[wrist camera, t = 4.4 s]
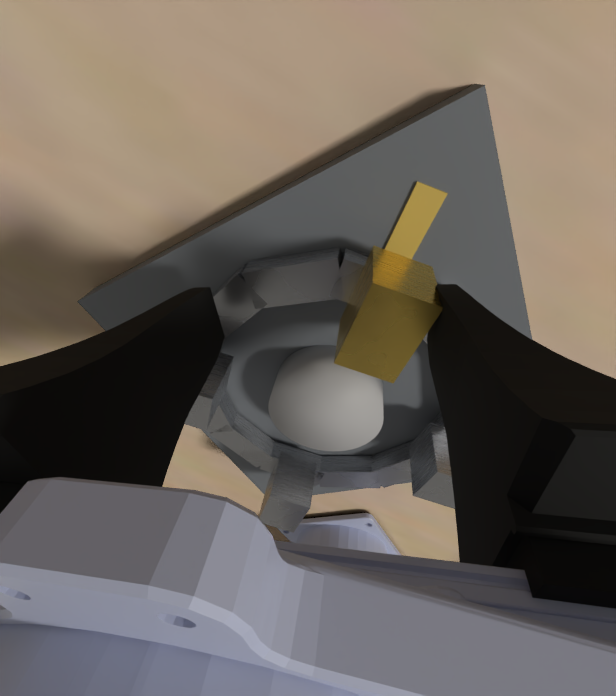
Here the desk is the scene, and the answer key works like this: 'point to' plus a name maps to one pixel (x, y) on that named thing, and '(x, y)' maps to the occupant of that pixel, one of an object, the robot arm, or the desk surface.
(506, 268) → the cap plate
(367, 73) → the desk surface
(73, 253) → the desk surface
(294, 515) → the ring nut
